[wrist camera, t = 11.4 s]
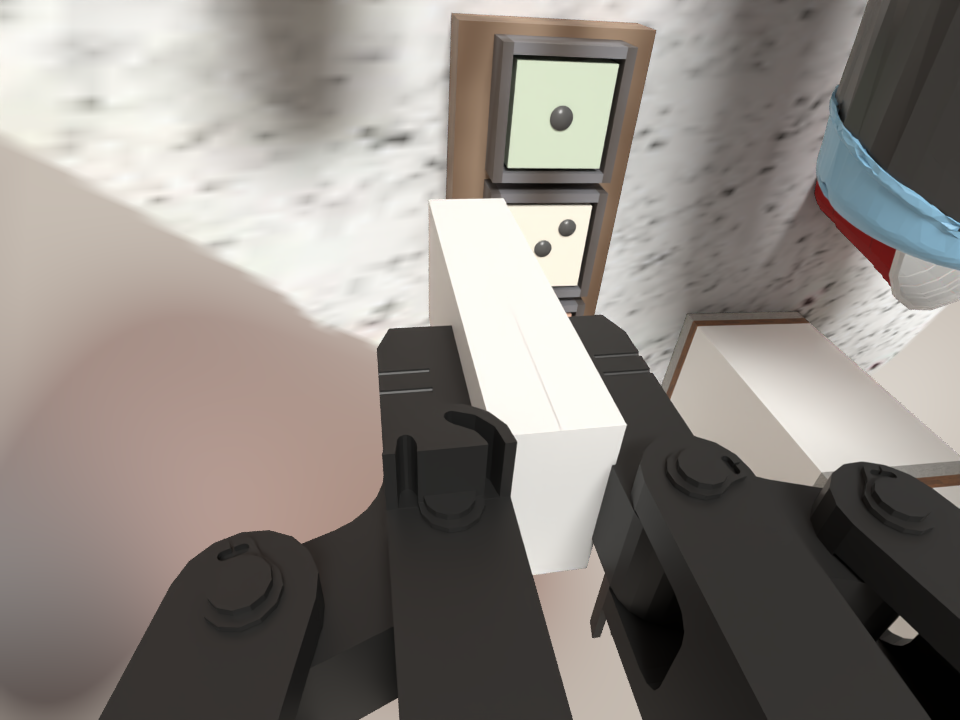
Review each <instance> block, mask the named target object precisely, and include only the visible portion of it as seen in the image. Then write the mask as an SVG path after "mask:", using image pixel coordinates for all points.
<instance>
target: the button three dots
mask: <svg viewBox="0 0 960 720" xmlns="http://www.w3.org/2000/svg"><path fill="white" fill-rule="evenodd" d="M506 204H507V206H508V207H509V209H510V211H511V213H512V215H513V217H514V218H515V220H516V222H517V224H518V226H519V228H520V230H521V231H522V233H523V235H524V237H525V239H526V241H527V242H528V244H529V246H530V248H531V250H532V252H533V253H534V255H535V257H536V259H537V261H538V263H539V264H540V266H541V268H542V270H543V272H544V274H545V276H546V277H547V279H548V281H549V283H550V285H551V286H575V285H577V283H578V278H579V273H580V268H581V262H582V257H583V252H584V247H585V241H586V236H587V231H588V226H589V220H590V215H591V210H592V205H591V204H590V203H506Z"/></svg>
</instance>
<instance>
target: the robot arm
mask: <svg viewBox="0 0 960 720" xmlns="http://www.w3.org/2000/svg"><path fill="white" fill-rule="evenodd" d="M829 110H830V115H829V119H828V123H827V127H826V130H825V134H824V138H823V141H822V145H821V148H820V151H819V155H818V158H817V164H816V175H817V180H818V184H819V186H820V188H821V190H822V192H823V194H824V196H825V197H826V198H827V199H828V200H829V202H830V204H831V206H832V207H833V208H834V209H835V210H836V211H837V212H838V213H839V214H840V215H841V216H842V217H843V218H844V219H846V220H847V221H848V222H849V223H851V224H852V225H853V226H855V227H856V228H858V229H859V230H861V231H862V232H864V233H865V234H867V235H869V236H871V237H872V238H874V239H876V240H878V241H880V242H882V243H884V244H886V245H888V246H890V247H892V248H894V249H897V250H899V251H901V252H903V253H906V254H908V255H911V256H913V257H916V258H919V259H921V260H924V261H927V262H930V263H933V264H936V265H939V266H943V267H947V268H950V269H955V270H959V271H960V0H868V3H867V6H866V9H865V12H864V15H863V18H862V21H861V24H860V27H859V30H858V33H857V36H856V39H855V42H854V45H853V48H852V50H851V53H850V56H849V59H848V62H847V64H846V67H845V70H844V73H843V75H842V78H841V81H840V84H839V85H837V86H836V87H835V89H834V91H833V93H832V97H831V99H830V105H829ZM429 320H430V325H431V326H430V327H412V328H394V329H389V330H388V331H387V333H386V335H385V336H384V338H383V340H382V341H381V343H380V345H379V346H378V348H377V358H378V375H379V391H380V408H381V424H382V440H383V453H382V459H383V472H384V476H383V477H384V478H383V484H382V486H381V488H380V491H379V493H378V495H377V497H376V499H375V500H374V501H373V502H372V504H371V505H370V506H369V507H368V509H367V510H366V511H364V512H363V513H362V514H361V515H360V516H359V517H357V518H356V519H355V520H353V521H352V522H350V523H348V524H346V525H344V526H342V527H340V528H339V529H337V530H335V531H332V532H330V533H327V534H325V535H322V536H320V537H318V538H315V539H312V540H310V541H308V542H305V543H303V544H301V543H300V542H298V541H297V540H296V539H295V538H294V537H292V536H288V535H285V534H281V533H277V532H274V531H270V530H267V531H253V532H242V533H239V534H236V535H234V536H231V537H228V538H226V539H223V540H221V541H218V542H216V543H214V544H212V545H211V546H209V547H208V548H207V549H205V550H204V551H202V552H201V553H200V554H198V555H197V556H196V557H194V558H193V559H192V560H190V561H189V562H188V563H187V565H186V566H185V567H184V569H183V570H182V571H181V573H180V574H179V575H178V577H177V578H176V579H175V580H174V582H173V583H172V584H171V586H170V587H169V589H168V591H167V593H166V595H165V597H164V599H163V601H162V602H161V604H160V606H159V608H158V610H157V612H156V614H155V615H154V617H153V619H152V621H151V623H150V625H149V627H148V628H147V631H146V632H145V634H144V636H143V638H142V640H141V642H140V644H139V645H138V647H137V649H136V651H135V653H134V655H133V656H132V658H131V660H130V662H129V664H128V666H127V668H126V669H125V671H124V673H123V675H122V677H121V679H120V681H119V683H118V684H117V686H116V688H115V690H114V692H113V694H112V695H111V697H110V699H109V701H108V703H107V705H106V707H105V708H104V710H103V712H102V714H101V716H100V718H99V720H359V719H361V718H363V717H364V716H366V715H368V714H370V713H371V712H373V711H375V710H377V709H379V708H381V707H382V706H384V705H386V704H388V703H389V702H391V701H393V700H395V699H397V698H398V703H399V719H400V720H573V719H572V715H571V711H570V707H569V704H568V700H567V697H566V693H565V690H564V686H563V682H562V679H561V676H560V672H559V669H558V664H557V661H556V657H555V654H554V650H553V647H552V643H551V639H550V636H549V632H548V629H547V625H546V622H545V618H544V614H543V611H542V608H541V604H540V600H539V597H538V593H537V589H536V586H535V582H534V579H533V575H537V574H545V573H552V572H560V571H568V570H574V569H582V568H587V564H588V561H589V557H590V554H591V550H592V547H593V543H594V546H595V548H596V551H597V553H598V556H599V559H600V561H601V564H602V566H603V569H604V571H605V575H604V578H603V581H602V584H601V588H600V591H599V594H598V597H597V600H596V603H595V607H594V610H593V613H592V616H591V620H590V625H591V632H592V638H596V637H600V635H601V633H602V630H603V627H604V624H605V621H606V620H607V622H608V625H609V628H610V631H611V635H612V637H613V639H614V642H615V645H616V648H617V650H618V653H619V656H620V659H621V661H622V664H623V667H624V670H625V673H626V675H627V678H628V681H629V683H630V686H631V689H632V692H633V695H634V698H635V700H636V703H637V706H638V709H639V711H640V714H641V717H642V720H960V509H959V508H958V507H957V506H955V505H954V504H953V503H951V502H950V501H949V500H947V499H946V498H945V497H943V496H942V495H941V494H939V493H938V492H937V491H936V490H934V489H933V488H931V487H929V486H928V485H926V484H925V483H923V482H921V481H920V480H918V479H916V478H915V477H913V476H912V475H910V474H907V473H905V472H902V471H900V470H897V469H894V468H892V467H889V466H887V465H882V464H876V463H869V462H863V461H861V462H854V463H847V464H843V465H842V466H841V467H839V468H838V469H837V470H835V471H834V472H833V473H832V474H831V476H830V477H829V479H828V481H827V482H826V484H825V485H824V487H823V488H819V487H813V486H807V485H801V484H794V483H788V482H782V481H776V480H769V479H765V478H761V477H756V476H755V474H754V473H753V472H752V470H751V469H750V468H749V467H748V466H747V465H746V464H745V463H744V462H743V461H742V460H741V459H740V458H739V457H738V456H737V455H736V454H734V453H733V452H731V451H729V450H728V449H726V448H724V447H723V446H721V445H719V444H718V443H716V442H712V441H709V440H706V439H703V438H700V437H696V436H694V435H693V433H692V432H691V430H690V429H689V427H688V426H687V424H686V423H685V421H684V420H683V418H682V417H681V415H680V414H679V412H678V411H677V409H676V408H675V406H674V405H673V403H672V402H671V400H670V399H669V397H668V396H667V394H666V393H665V391H664V390H663V388H662V387H661V385H660V383H659V382H658V380H657V379H656V377H655V376H654V374H653V373H650V371H649V370H650V368H649V367H648V365H647V364H646V362H645V361H644V359H643V358H642V356H639V355H638V350H637V349H636V347H635V346H634V344H633V343H632V341H631V340H630V338H629V337H628V335H627V334H626V332H625V331H624V330H622V329H621V328H620V327H618V326H617V325H615V324H614V323H613V322H611V321H610V320H608V319H607V318H606V317H604V316H603V315H590V316H571V317H568V316H567V314H566V312H565V310H564V309H563V307H562V305H561V303H560V301H559V299H558V298H557V296H556V294H555V292H554V290H553V288H552V287H551V285H550V283H549V281H548V279H547V277H546V276H545V274H544V272H543V270H542V268H541V266H540V264H539V263H538V261H537V259H536V257H535V255H534V253H533V252H532V250H531V248H530V246H529V244H528V242H527V241H526V239H525V237H524V235H523V233H522V231H521V230H520V228H519V226H518V224H517V222H516V220H515V218H514V217H513V215H512V213H511V211H510V209H509V207H508V206H507V204H506V202H505V200H504V198H490V199H435V200H429ZM899 616H901V617H902V618H903V619H904V620H905V621H906V622H907V623H908V624H909V625H910V626H911V627H912V628H913V629H914V630H915V631H916V632H918V633H919V634H918V635H917V636H916V637H915V638H914V639H908V638H902V637H900V636H898V635H896V634H894V633H892V632H891V631H890V630H888V628H889V627H890V626H891V625H892V624H893V623H894V622H895V621H896V620H897V619H898V618H899Z"/></svg>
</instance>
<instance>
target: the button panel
mask: <svg viewBox="0 0 960 720" xmlns="http://www.w3.org/2000/svg"><path fill="white" fill-rule="evenodd" d="M655 34H656V30H654V29H651V28H649V27H646V26H643V25H641V24H638V23H624V22H606V21H587V20H569V19H550V18H532V17H513V16H495V15H476V14H458V13H452V19H451V52H450V84H449V117H448V150H447V182H446V199H490V198H504V200H505V202H506V203H590V204H591V205H592V210H591V215H590V220H589V226H588V231H587V236H586V241H585V247H584V252H583V257H582V262H581V268H580V273H579V278H578V283H577V285H575V286H551V287H552V288H553V290H554V292H555V294H556V296H557V298H558V299H559V301H560V303H561V305H562V307H563V309H564V310H565V312H570V313H571V314H572V315H571V316H590V315H594V314H595V309H596V305H597V300H598V295H599V291H600V286H601V282H602V277H603V273H604V268H605V263H606V259H607V254H608V250H609V245H610V240H611V236H612V231H613V227H614V222H615V218H616V213H617V208H618V204H619V199H620V195H621V190H622V185H623V181H624V176H625V172H626V167H627V162H628V158H629V153H630V149H631V144H632V140H633V135H634V130H635V126H636V121H637V117H638V112H639V107H640V103H641V98H642V94H643V89H644V85H645V80H646V75H647V71H648V66H649V62H650V57H651V52H652V48H653V43H654V39H655ZM513 54H517V55H540V56H564V57H588V58H609V59H610V60H612V61H614V62H616V63H618V64H619V68H618V73H617V78H616V83H615V89H614V94H613V99H612V104H611V110H610V115H609V120H608V126H607V131H606V136H605V141H604V147H603V152H602V157H601V162H600V168H599V169H593V168H507V166H506V165H505V163H504V154H505V143H506V132H507V121H508V109H509V98H510V87H511V76H512V65H513Z"/></svg>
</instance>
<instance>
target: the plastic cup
mask: <svg viewBox="0 0 960 720" xmlns="http://www.w3.org/2000/svg"><path fill="white" fill-rule="evenodd" d="M814 194H815V198H816V201H817V204H818V205H819V207H820V209H821V210H822V211H823V212H824V213H825V214H826V215H827V216H828V217H829V218H830V219H831V220H832V221H833V222H834V223H835V225H836V227H837V228H838V229H839V230H840V231H841V232H842V233H843V234H844V236H845V237H846V238H847V239H848V240H849V241H850V242H851V243H852V244H853V245H854V246H855V247H856V248H857V249H858V250H859V251H860V252H861V253H862V254H863V255H864V256H865V257H866V258H867V259H868V260H869V261H870V262H871V263H872V264H873V265H874V268H875V269H876V270H877V271H878V272H879V273H881V274H882V276H883V278H884V279H885V280H886V281H887V282H888V283H889V286H891V290H892V294H893V296H894V297H895V298H896V299H897V300H898V301H899V302H901V303H902V304H903V305H904V306H906V307H907V308H908V309H909V310H933V309H936V308H939V307H942V306H945V305H948V304H951V303H953V302H957V301H958V300H960V271H959V270H955V269H950V268H947V267H943V266H939V265H936V264H933V263H930V262H927V261H924V260H921V259H919V258H916V257H913V256H911V255H908V254H906V253H903V252H901V251H899V250H897V249H894V248H892V247H890V246H888V245H886V244H884V243H882V242H880V241H878V240H876V239H874V238H872V237H871V236H869V235H867V234H865V233H864V232H862V231H861V230H859V229H858V228H856V227H855V226H853V225H852V224H851V223H849V222H848V221H847V220H846V219H844V218H843V217H842V216H841V215H840V214H839V213H838V212H837V211H836V210H835V209H834V208H833V207H832V206H831V204H830V202H829V200H828V199H827V198H826V197H825V196H824V194H823V192H822V190H821V188H820V186H819V184H818V180H817V181H816V187H815V193H814Z"/></svg>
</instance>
